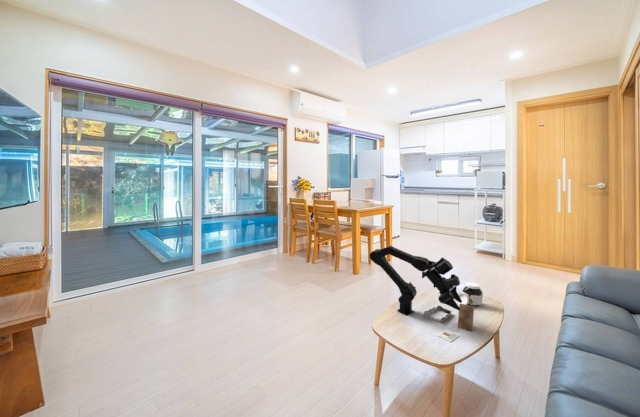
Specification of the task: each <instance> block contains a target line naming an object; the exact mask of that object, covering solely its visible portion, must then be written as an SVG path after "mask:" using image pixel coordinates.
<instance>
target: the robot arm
mask: <svg viewBox="0 0 640 417" xmlns="http://www.w3.org/2000/svg"><path fill="white" fill-rule="evenodd" d="M388 255H389V256H392V257H395V258H397V259H398V260H400V261H404V262H405V263H408V264H410V265H411V266H412V267H413V268H414V269H416V270H417V271H419V272H421V278H422V279H425V277H426V278H427V279H428V280H429V282H430V283H432V286H433V288H435V289H437V290H438V293H439V295H438V300H437V301H439V303H440V304H442V305H446V306H449V307H451V308H453V309H454V310H457V311H459V310H460V308H459V306H460V305H459V304H458V302H460V303H461V302H462V300H461V299H460V297H459V295H458V294H459V293H458V291H457V287H458V286H460V284H461V281H460V277H458V276H457V275H456V274H454V273H453V274H450V277H448V278H446V277H445V276H444V275H446V274H447V273H448V272H450V271H451V270H453V269H454V266H453V265H452V263H451V262H450V261H449V260H448V259H446V258H444V257H441V258H440V259H439V260H438V261H437V262H436V261H432V260H429V258H427V257H423V256H417V255H413V254H411V253H408V252H405V251H403V250H402V249H398V248H396V247H394V246H393V245H388V246H386V247H384V248H377V249H374V250H372V251H371V252H370V253H369V260H370V261H372V262H373V263H374V264H375V265H377V266H379V267H380V268H381V269H382V270H383V271H384V273H386V274H387V275H388V277H389V278H390V279H391V281H392V282H393V283H394V284H395V285H396V286H397V287H398V289H399V293H400V294H401V295H400V296H399V298H398V303H399V308H398V309H397V312H398V313H400V314H402V315H405V316H409V315H412V314H413V313H415V311H414V310H412V308H413V307H412V306H413V300H414V299H415V298H416V296H417V293H418V292H417V289H416V286H415V285H413V284H412V282H411V281H410V282H406V281H405V280H404V279H403V277H402V276H401V275H400V274H399V273H398V272H397V271H396V269H395V268H394V267H393V266H392V265H391V264H390V263H389V261H388V260H387V257H386V256H388ZM457 301H458V302H457Z"/></svg>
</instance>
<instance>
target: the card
mask: <svg viewBox="0 0 640 417" xmlns="http://www.w3.org/2000/svg"><path fill="white" fill-rule="evenodd" d="M437 337H439V338H441V339H444V340H445V341H448V342H450V343H452V342H453V341H455V340H456V339H458V337H460V334H457V333H455V332H453V331H451V330H449V329H446V330H444V331H442V332H441V333H439V334H438V335H437Z"/></svg>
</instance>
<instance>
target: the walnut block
mask: <svg viewBox="0 0 640 417" xmlns="http://www.w3.org/2000/svg"><path fill="white" fill-rule="evenodd" d="M458 306H459V308H460V310H458V316H457V317H458V319H457V321H458V322H457V329H461V330H464V331H469V332H473V328H474V313H475V307H474V306H470V305H466V304H461V303H460V305H458Z"/></svg>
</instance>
